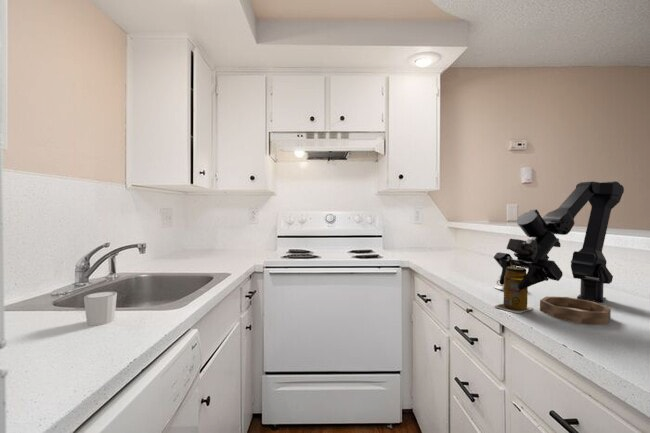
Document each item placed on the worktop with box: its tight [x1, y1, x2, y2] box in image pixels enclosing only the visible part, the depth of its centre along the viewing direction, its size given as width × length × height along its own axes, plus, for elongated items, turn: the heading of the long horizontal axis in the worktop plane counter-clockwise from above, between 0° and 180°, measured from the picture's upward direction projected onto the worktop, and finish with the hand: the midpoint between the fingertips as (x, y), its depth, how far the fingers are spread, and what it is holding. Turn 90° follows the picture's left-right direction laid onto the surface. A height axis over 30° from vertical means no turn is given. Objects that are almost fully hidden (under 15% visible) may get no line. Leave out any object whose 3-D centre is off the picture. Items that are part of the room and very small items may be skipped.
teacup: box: [494, 274, 504, 292], centre depth 114 cm, size 10×10×5 cm
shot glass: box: [83, 291, 118, 327], centre depth 79 cm, size 7×7×7 cm
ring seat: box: [539, 296, 612, 326], centre depth 86 cm, size 14×14×3 cm
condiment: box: [493, 266, 534, 314], centre depth 91 cm, size 7×8×12 cm
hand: (509, 286), depth 91 cm, fingers closed on condiment, 6 cm apart
